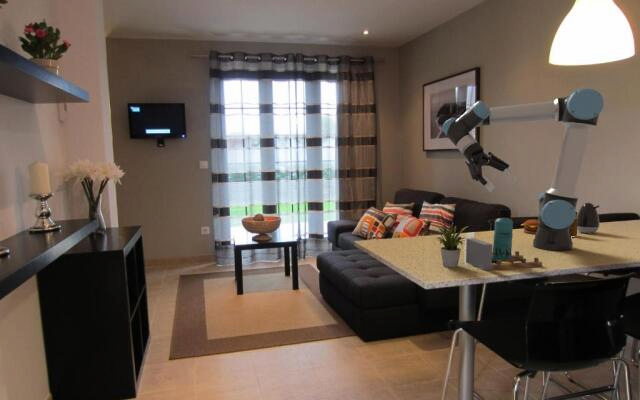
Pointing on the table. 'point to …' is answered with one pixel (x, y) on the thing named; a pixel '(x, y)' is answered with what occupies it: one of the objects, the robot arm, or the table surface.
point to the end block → (479, 253)
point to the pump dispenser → (588, 218)
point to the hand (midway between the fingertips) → (504, 186)
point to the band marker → (505, 262)
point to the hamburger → (530, 226)
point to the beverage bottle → (503, 237)
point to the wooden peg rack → (516, 265)
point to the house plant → (450, 246)
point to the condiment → (574, 227)
